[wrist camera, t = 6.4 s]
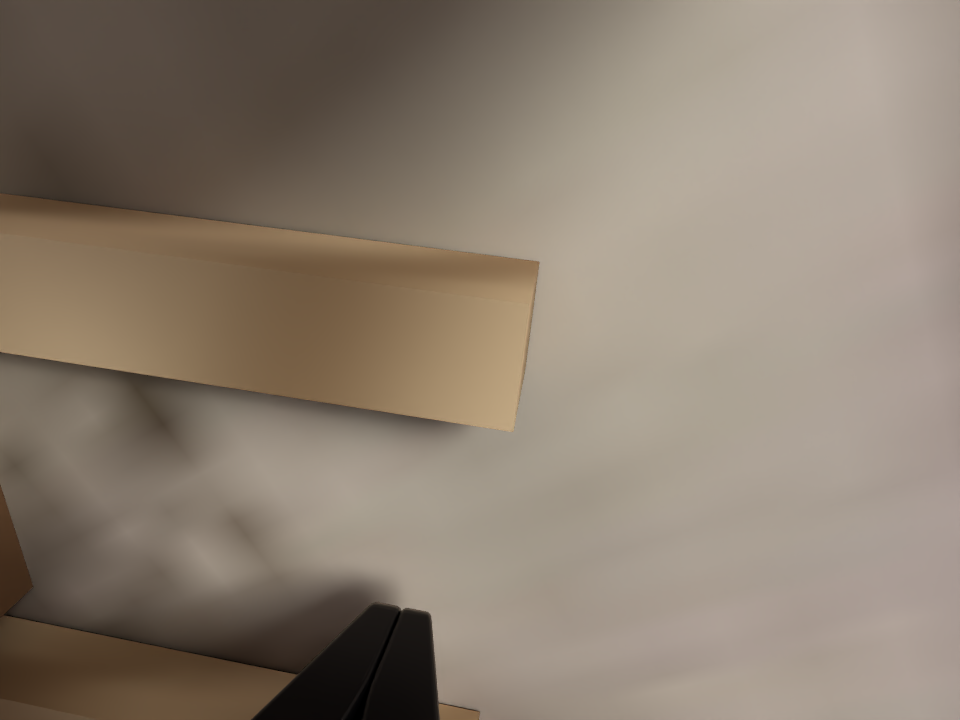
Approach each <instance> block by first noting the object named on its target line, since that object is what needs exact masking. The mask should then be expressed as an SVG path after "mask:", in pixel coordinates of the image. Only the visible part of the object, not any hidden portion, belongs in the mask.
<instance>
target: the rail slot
mask: <svg viewBox="0 0 960 720" xmlns="http://www.w3.org/2000/svg"><path fill="white" fill-rule="evenodd" d="M538 269H539V262H537V261H529V260H521V259H513V258H506V257H498V256H490V255H482V254H474V253H466V252H458V251H450V250H443V249H435V248H427V247H419V246H411V245H403V244H395V243H388V242H380V241H372V240H364V239H356V238H348V237H340V236H333V235H325V234H317V233H309V232H301V231H293V230H285V229H278V228H270V227H262V226H254V225H246V224H238V223H230V222H223V221H215V220H207V219H199V218H191V217H183V216H175V215H168V214H160V213H152V212H144V211H136V210H128V209H120V208H112V207H105V206H97V205H89V204H81V203H73V202H65V201H57V200H50V199H42V198H34V197H26V196H18V195H10V194H2V193H0V352H3V353H10V354H16V355H23V356H29V357H35V358H42V359H48V360H55V361H61V362H67V363H74V364H80V365H87V366H93V367H99V368H106V369H112V370H119V371H125V372H132V373H138V374H144V375H151V376H157V377H164V378H170V379H176V380H183V381H189V382H196V383H202V384H209V385H215V386H221V387H228V388H234V389H241V390H247V391H253V392H260V393H266V394H273V395H279V396H286V397H292V398H298V399H305V400H311V401H318V402H324V403H330V404H337V405H343V406H350V407H356V408H363V409H369V410H375V411H382V412H388V413H395V414H401V415H407V416H414V417H420V418H427V419H433V420H440V421H446V422H452V423H459V424H465V425H472V426H478V427H484V428H491V429H497V430H504V431H510V432H513V430H514V425H515V420H516V415H517V409H518V404H519V399H520V394H521V389H522V384H523V379H524V374H525V367H526V359H527V352H528V344H529V337H530V329H531V322H532V314H533V307H534V299H535V291H536V284H537V276H538ZM296 676H297V675H296V674H291V673H286V672H281V671H276V670H271V669H266V668H261V667H256V666H251V665H246V664H241V663H236V662H232V661H227V660H222V659H217V658H212V657H207V656H202V655H197V654H192V653H187V652H182V651H177V650H172V649H168V648H163V647H158V646H153V645H148V644H143V643H138V642H133V641H128V640H123V639H118V638H113V637H109V636H104V635H99V634H94V633H89V632H84V631H79V630H74V629H69V628H64V627H59V626H54V625H49V624H45V623H40V622H35V621H30V620H25V619H20V618H15V617H10V616H5V615H3V616H2V617H1V618H0V720H251V719H252V718H253V717H254V716H255V715H256V714H257V713H258V712H259V711H260V710H261V709H262V708H263V707H264V706H266V705H267V704H268V703H269V702H270V701H271V700H272V699H273V698H274V697H275V696H276V695H277V694H278V693H279V692H280V691H281V690H282V689H283V688H284V687H285V686H286V685H287V684H288V683H289V682H290V681H292V680H293V679H294V678H295V677H296ZM439 714H440V720H479V715H480V712H478V711H473V710H468V709H463V708H458V707H453V706H448V705H443V704H439Z"/></svg>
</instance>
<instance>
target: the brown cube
mask: <svg viewBox="0 0 960 720" xmlns="http://www.w3.org/2000/svg"><path fill="white" fill-rule="evenodd" d="M32 587H33V585H32V581H31V578H30V575H29V572H28V569H27V566H26V563H25V560H24V557H23V554H22V550H21V547H20V544H19V541H18V538H17V535H16V532H15V529H14V526H13V523H12V519H11V516H10V513H9V510H8V507H7V504H6V501H5V498H4V495H3V492H2V488H1V485H0V618H1V617H2V616H3V615H4V614H5V613H6V612H7V611H8V610H9V609H10V608H11V607H12V606H13V605H14V604H15V603H17V602H18V601H19V600H20V599H21V598H22V597H23V596H24V595H25V594H26V593H27V592H28V591H29V590H30V589H31V588H32Z"/></svg>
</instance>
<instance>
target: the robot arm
mask: <svg viewBox="0 0 960 720" xmlns="http://www.w3.org/2000/svg"><path fill="white" fill-rule="evenodd" d="M251 720H440V714H439V702H438V690H437V679H436V667H435V655H434V643H433V632H432V620H431V615H430V614H429V613H428V612H426V611H421V610H415V609H410V608H405V609H403V610H402V611H401V608H400V607H398V606H395V605H390V604H385V603H380V602H375V603H372V604H371V605H370V606H368V607H367V608H366V609H365V610H364V611H363V612H362V613H361V614H360V615H359V616H358V617H357V618H356V619H355V620H354V621H353V622H352V623H351V624H350V625H349V626H348V627H347V628H346V629H345V630H343V631H342V632H341V633H340V634H339V635H338V636H337V637H336V638H335V639H334V640H333V641H332V642H331V643H330V644H329V645H328V646H327V647H326V648H325V649H324V650H323V651H322V652H321V653H320V654H319V655H317V656H316V657H315V658H314V659H313V660H312V661H311V662H310V663H309V664H308V665H307V666H306V667H305V668H304V669H303V670H302V671H301V672H300V673H299V674H298V675H297V676H296V677H295V678H294V679H293V680H292V681H290V682H289V683H288V684H287V685H286V686H285V687H284V688H283V689H282V690H281V691H280V692H279V693H278V694H277V695H276V696H275V697H274V698H273V699H272V700H271V701H270V702H269V703H268V704H267V705H266V706H264V707H263V708H262V709H261V710H260V711H259V712H258V713H257V714H256V715H255V716H254V717H253V718H252V719H251Z"/></svg>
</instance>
